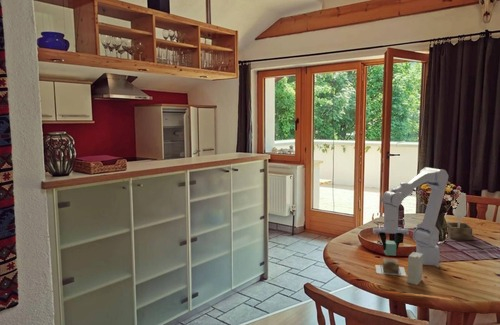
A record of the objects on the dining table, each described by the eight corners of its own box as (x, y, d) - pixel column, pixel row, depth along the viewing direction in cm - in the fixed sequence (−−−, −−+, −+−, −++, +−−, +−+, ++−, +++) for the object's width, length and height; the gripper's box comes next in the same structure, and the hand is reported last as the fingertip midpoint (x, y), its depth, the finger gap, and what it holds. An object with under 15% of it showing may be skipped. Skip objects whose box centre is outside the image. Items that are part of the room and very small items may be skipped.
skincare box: (411, 278, 159) (412, 251, 157) (422, 281, 156) (423, 253, 154) (406, 284, 154) (407, 255, 152) (417, 287, 151) (419, 258, 150)
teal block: (393, 251, 167) (394, 240, 167) (396, 255, 163) (396, 244, 162) (383, 251, 168) (384, 240, 167) (385, 255, 164) (386, 244, 163)
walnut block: (396, 267, 168) (397, 259, 167) (398, 273, 162) (398, 264, 161) (382, 266, 169) (382, 258, 169) (383, 272, 164) (383, 263, 163)
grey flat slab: (403, 268, 169) (403, 267, 168) (406, 277, 160) (406, 275, 160) (375, 266, 172) (375, 264, 171) (376, 274, 163) (376, 272, 163)
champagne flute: (451, 236, 209) (453, 194, 206) (451, 233, 215) (453, 191, 212) (465, 238, 206) (468, 195, 203) (465, 234, 212) (467, 192, 209)
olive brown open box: (466, 233, 215) (466, 223, 214) (471, 239, 204) (472, 228, 204) (445, 232, 217) (446, 222, 216) (450, 238, 207) (450, 227, 206)
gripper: (406, 217, 166) (405, 246, 168) (371, 216, 168) (371, 245, 170) (410, 221, 159) (409, 252, 161) (375, 220, 161) (374, 251, 163)
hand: (390, 249), depth 165 cm, fingers closed on teal block, 4 cm apart
